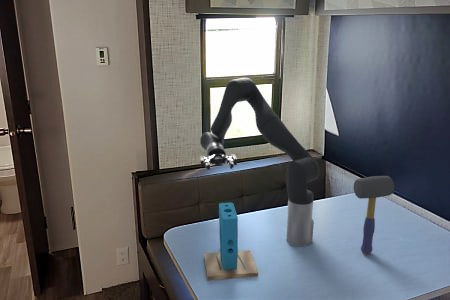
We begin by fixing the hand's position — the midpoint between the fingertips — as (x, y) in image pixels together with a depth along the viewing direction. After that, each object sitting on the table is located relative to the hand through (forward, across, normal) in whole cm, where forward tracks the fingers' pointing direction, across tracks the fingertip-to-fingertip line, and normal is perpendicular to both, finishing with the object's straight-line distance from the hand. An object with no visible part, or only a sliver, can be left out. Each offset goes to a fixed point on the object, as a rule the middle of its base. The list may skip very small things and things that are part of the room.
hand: (220, 167), depth 165 cm
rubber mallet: (+22, +51, +28) cm, 62 cm away
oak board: (+24, 0, +28) cm, 37 cm away
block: (+24, 0, +27) cm, 36 cm away
